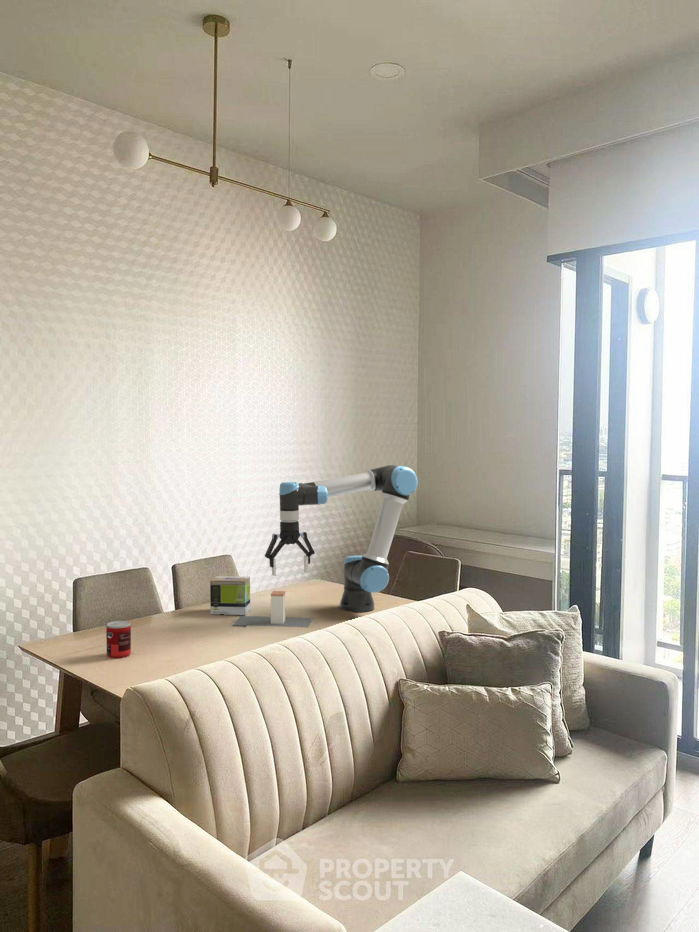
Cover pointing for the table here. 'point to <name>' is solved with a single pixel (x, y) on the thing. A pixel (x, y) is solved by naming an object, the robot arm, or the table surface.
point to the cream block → (277, 607)
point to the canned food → (118, 639)
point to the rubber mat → (267, 621)
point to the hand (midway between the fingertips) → (290, 573)
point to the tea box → (230, 595)
